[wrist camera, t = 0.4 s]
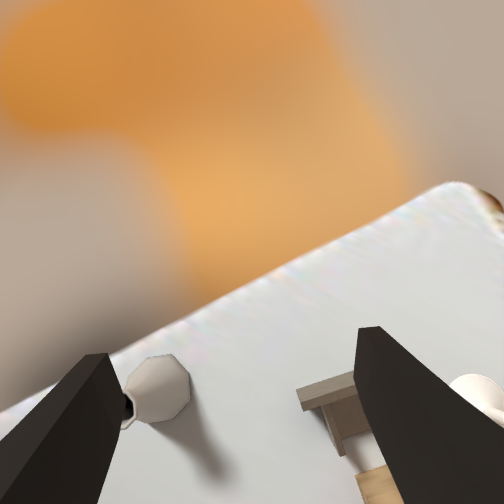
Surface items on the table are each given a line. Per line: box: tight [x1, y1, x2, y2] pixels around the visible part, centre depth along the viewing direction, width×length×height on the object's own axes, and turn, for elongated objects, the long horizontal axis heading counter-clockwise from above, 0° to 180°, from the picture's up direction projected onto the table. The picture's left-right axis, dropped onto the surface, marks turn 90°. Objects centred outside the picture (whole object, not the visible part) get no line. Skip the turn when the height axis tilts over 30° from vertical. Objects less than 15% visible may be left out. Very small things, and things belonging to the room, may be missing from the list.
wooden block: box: [355, 465, 404, 504], centre depth 30 cm, size 10×4×5 cm, turn 108°
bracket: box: [296, 371, 371, 457], centre depth 32 cm, size 6×10×6 cm, turn 108°
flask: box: [120, 354, 191, 430], centre depth 31 cm, size 7×7×10 cm
